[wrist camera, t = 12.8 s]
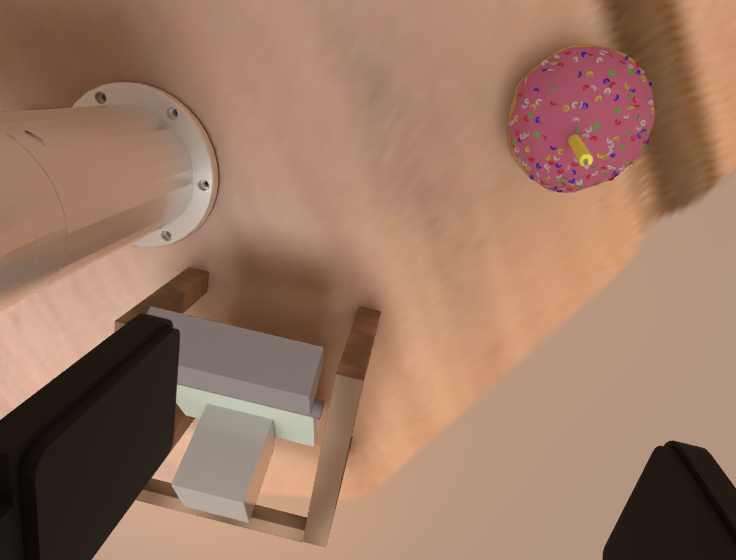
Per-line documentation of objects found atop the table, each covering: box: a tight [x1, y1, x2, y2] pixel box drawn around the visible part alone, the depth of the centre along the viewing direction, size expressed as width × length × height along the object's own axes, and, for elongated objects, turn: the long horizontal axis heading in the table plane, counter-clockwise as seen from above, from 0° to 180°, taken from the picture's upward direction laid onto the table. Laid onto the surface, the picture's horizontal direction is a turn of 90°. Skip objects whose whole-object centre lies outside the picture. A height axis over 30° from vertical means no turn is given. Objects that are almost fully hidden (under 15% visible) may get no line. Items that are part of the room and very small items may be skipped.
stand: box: [115, 268, 381, 547], centre depth 41 cm, size 17×15×11 cm
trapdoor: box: [147, 306, 324, 447], centre depth 37 cm, size 12×14×3 cm
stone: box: [171, 403, 275, 523], centre depth 38 cm, size 5×5×6 cm
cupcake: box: [507, 44, 656, 193], centre depth 30 cm, size 9×8×12 cm
